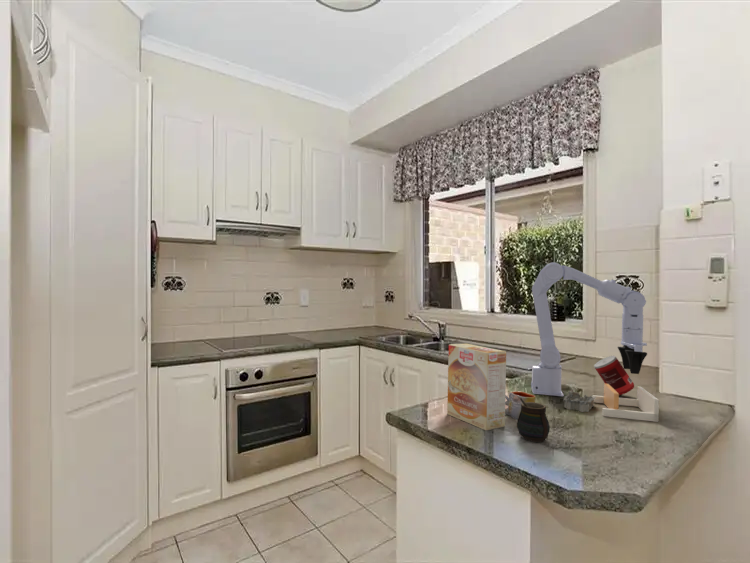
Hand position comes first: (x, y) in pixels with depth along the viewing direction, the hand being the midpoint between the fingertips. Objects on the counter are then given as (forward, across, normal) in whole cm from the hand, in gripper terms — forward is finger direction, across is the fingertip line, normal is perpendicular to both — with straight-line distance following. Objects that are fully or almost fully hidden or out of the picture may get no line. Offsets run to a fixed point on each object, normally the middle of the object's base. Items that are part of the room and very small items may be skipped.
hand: (631, 371), depth 133 cm
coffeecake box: (+10, -37, +46) cm, 60 cm away
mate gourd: (+10, -46, +32) cm, 57 cm away
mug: (+10, -29, +36) cm, 47 cm away
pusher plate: (+10, -12, +8) cm, 18 cm away
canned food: (+8, +7, 0) cm, 10 cm away
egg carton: (+10, -12, +17) cm, 23 cm away
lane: (+10, -12, +5) cm, 16 cm away
